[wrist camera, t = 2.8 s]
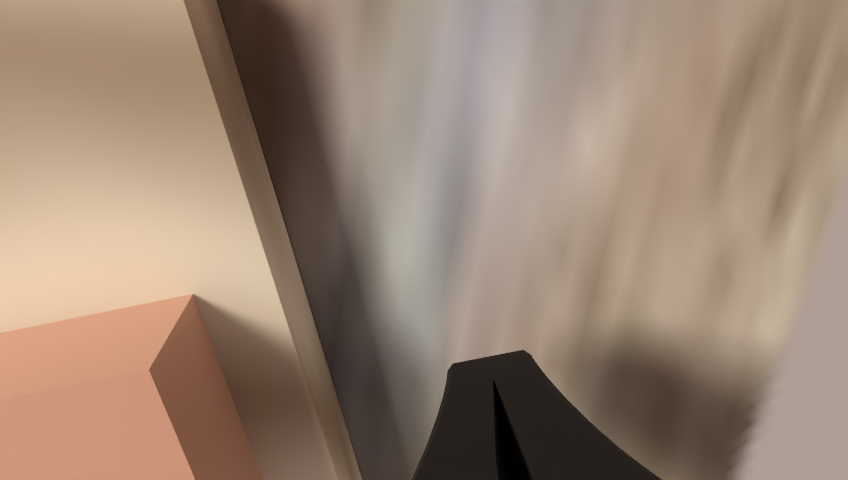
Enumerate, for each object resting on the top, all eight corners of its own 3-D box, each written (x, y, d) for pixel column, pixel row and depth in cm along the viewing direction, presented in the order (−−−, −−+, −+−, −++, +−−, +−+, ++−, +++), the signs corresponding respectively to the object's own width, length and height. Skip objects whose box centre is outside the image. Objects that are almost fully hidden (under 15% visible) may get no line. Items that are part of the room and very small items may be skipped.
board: (396, 593, 19) (396, 664, 17) (-33, 671, 19) (-79, 748, 17) (203, -44, 13) (170, -42, 11) (-422, 97, 13) (-556, 121, 11)
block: (270, 501, 15) (247, 603, 12) (43, 543, 15) (-21, 653, 13) (193, 293, 13) (148, 369, 11) (-67, 345, 13) (-166, 432, 11)
